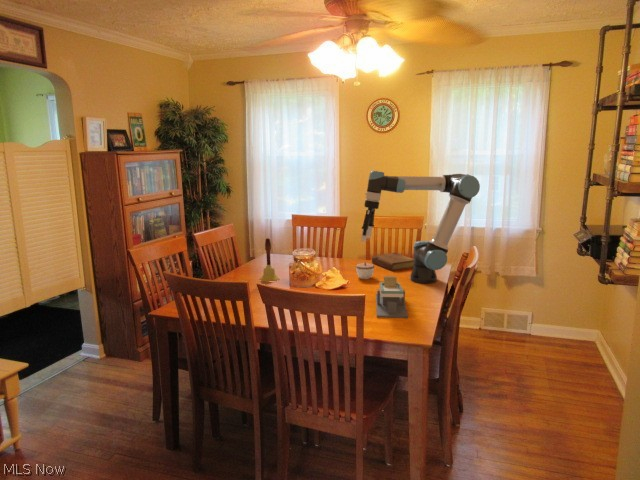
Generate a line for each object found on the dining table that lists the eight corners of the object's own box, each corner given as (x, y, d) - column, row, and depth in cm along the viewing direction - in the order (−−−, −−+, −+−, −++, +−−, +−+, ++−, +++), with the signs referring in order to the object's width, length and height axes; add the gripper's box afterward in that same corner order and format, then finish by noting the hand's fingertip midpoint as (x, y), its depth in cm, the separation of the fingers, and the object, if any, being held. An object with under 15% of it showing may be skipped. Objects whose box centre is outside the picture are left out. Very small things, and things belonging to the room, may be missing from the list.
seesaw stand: (402, 295, 239) (403, 281, 238) (407, 318, 208) (408, 301, 207) (375, 295, 241) (376, 280, 239) (376, 317, 210) (377, 300, 208)
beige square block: (395, 285, 235) (395, 276, 234) (396, 287, 229) (396, 277, 228) (384, 285, 235) (384, 275, 235) (384, 287, 229) (384, 277, 229)
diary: (372, 264, 307) (372, 255, 306) (395, 260, 315) (395, 252, 314) (391, 271, 287) (391, 263, 286) (415, 268, 295) (416, 259, 294)
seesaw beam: (399, 289, 237) (399, 282, 236) (403, 298, 209) (403, 291, 209) (379, 288, 238) (379, 282, 238) (381, 298, 210) (381, 291, 210)
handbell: (255, 281, 271) (252, 239, 266) (266, 275, 282) (264, 235, 277) (272, 283, 266) (271, 241, 261) (283, 277, 277) (282, 237, 272)
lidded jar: (373, 280, 268) (373, 265, 266) (355, 279, 270) (355, 264, 268) (374, 275, 278) (374, 260, 276) (357, 274, 280) (357, 260, 278)
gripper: (369, 198, 253) (363, 235, 257) (361, 200, 230) (354, 241, 233) (382, 200, 252) (376, 238, 255) (375, 202, 228) (368, 244, 231)
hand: (365, 239), depth 244 cm, fingers open, 13 cm apart
